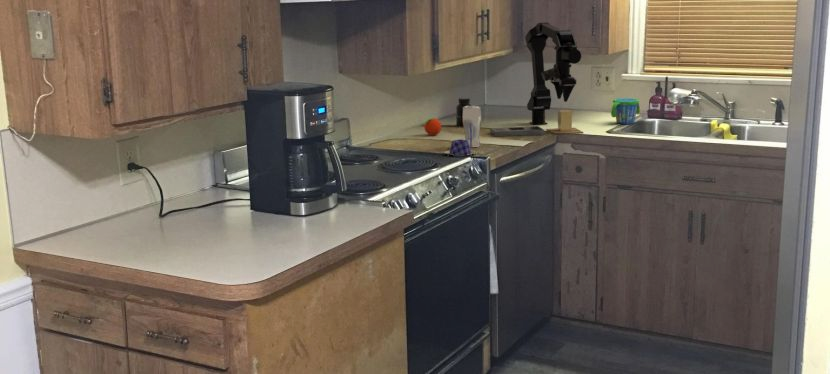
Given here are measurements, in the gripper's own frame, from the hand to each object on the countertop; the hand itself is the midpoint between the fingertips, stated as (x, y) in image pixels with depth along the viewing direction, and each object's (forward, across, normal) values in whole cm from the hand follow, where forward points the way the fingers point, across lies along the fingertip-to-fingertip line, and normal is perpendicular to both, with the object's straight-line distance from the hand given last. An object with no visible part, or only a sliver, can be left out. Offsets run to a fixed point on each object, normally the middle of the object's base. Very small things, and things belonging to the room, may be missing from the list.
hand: (562, 100), depth 371 cm
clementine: (+13, -4, -53) cm, 55 cm away
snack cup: (+13, -13, +32) cm, 37 cm away
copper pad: (+13, +2, +1) cm, 13 cm away
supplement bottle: (+13, -25, -36) cm, 46 cm away
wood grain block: (+12, +1, +1) cm, 12 cm away
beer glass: (+13, +26, -42) cm, 51 cm away
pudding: (+13, +40, -49) cm, 65 cm away
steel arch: (+13, +1, -19) cm, 23 cm away
